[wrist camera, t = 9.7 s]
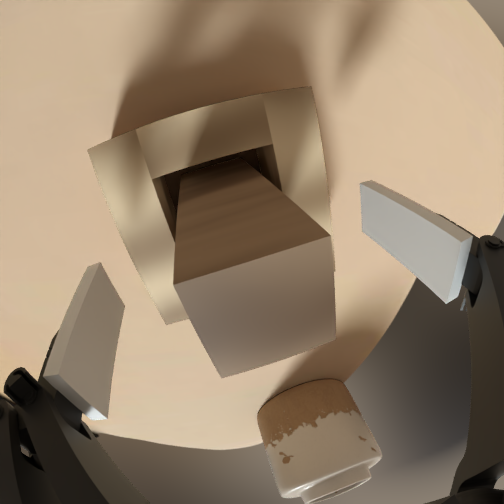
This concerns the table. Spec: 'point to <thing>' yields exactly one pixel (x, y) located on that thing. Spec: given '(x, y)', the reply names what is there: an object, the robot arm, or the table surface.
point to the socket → (198, 151)
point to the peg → (251, 269)
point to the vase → (317, 441)
